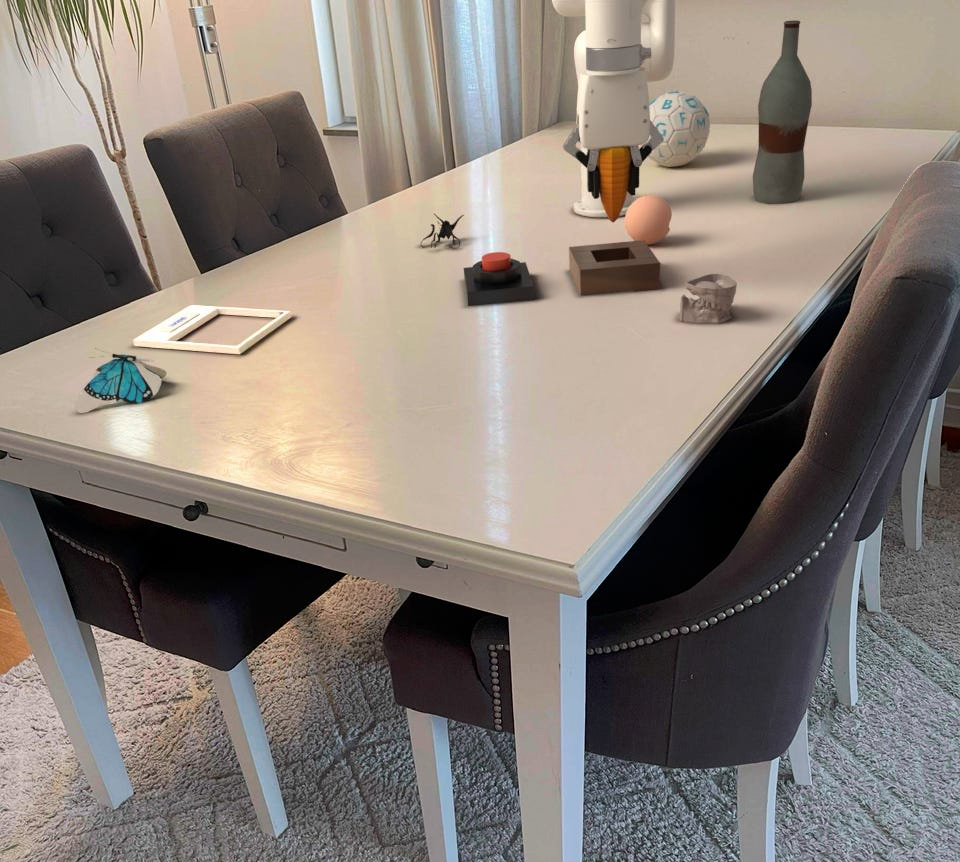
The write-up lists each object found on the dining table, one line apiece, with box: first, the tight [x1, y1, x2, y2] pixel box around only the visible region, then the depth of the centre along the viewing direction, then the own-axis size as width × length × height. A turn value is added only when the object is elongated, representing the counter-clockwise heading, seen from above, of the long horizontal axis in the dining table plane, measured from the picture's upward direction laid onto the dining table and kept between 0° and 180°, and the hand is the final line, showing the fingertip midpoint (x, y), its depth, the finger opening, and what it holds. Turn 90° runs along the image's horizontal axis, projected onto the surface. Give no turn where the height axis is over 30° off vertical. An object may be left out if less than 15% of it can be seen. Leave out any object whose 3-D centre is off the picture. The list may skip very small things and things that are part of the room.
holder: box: [568, 240, 661, 297], centre depth 147 cm, size 12×12×4 cm
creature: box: [420, 213, 465, 250], centre depth 170 cm, size 8×5×8 cm
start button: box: [481, 251, 512, 271], centre depth 146 cm, size 4×4×2 cm
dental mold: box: [679, 273, 738, 325], centre depth 131 cm, size 8×7×5 cm
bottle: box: [752, 19, 813, 205], centre depth 173 cm, size 9×9×30 cm
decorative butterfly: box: [74, 348, 168, 414], centre depth 124 cm, size 10×6×10 cm
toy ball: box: [624, 194, 673, 245], centre depth 161 cm, size 8×8×8 cm
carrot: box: [596, 146, 630, 223], centre depth 139 cm, size 5×5×15 cm
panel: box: [463, 258, 535, 307], centre depth 147 cm, size 12×10×4 cm
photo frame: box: [132, 304, 292, 355], centre depth 141 cm, size 15×1×18 cm
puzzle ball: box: [640, 90, 711, 168], centre depth 205 cm, size 15×15×15 cm
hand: (613, 193), depth 141 cm, fingers closed on carrot, 4 cm apart
